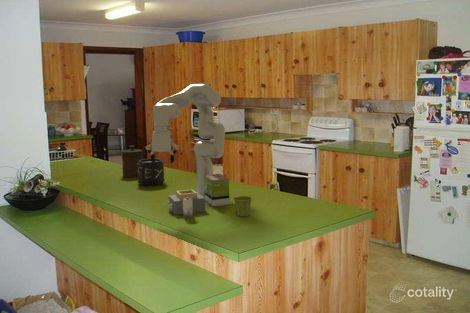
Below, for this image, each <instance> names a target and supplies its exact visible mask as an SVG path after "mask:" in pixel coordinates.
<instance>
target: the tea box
mask: <svg viewBox="0 0 470 313" xmlns="http://www.w3.org/2000/svg"><path fill="white" fill-rule="evenodd" d="M204 191H205V196H204V198H205V202H207V203H208V204H209V205H210V206H212V207H219V206H228V205H230V202H231V201H230V179H229V178H228V177H226V176H224V175H223V174H221V173H215V174H214V173H213V174H212V175H204Z"/></svg>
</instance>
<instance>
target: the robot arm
mask: <svg viewBox="0 0 470 313" xmlns="http://www.w3.org/2000/svg"><path fill="white" fill-rule="evenodd" d="M221 103H222V96H221V94H220V92H219V91H217V89H215V88H214V87H212V86H211V85H209V84H207V83H193V84H189V85H188V86H186V87H185V88H184V89H182V90H181V91H180V92H178V93H176V94H172V95H171V96H170V95H169V96H167V97H165V98H162V99H161V100H160V101H158V102H157V103H156V104H154V105H153V107H152V110H153V111H152V112H153V114H152V115H153V116H152V117H153V131H152V135H151V143H149V144H147V145H146V146H145V147H144V148H145V149H146V151H147V152H148V154H149V155H150V159H151V161H152V163H154V162H155V159H156V155H155V153H156V152H159V153H160V152H162V153H163V152H164V153H165V152H167V153H169V154H170V164H173V163H174V162H175V154H177V152H178V151H179V148H180V146H179V145H178V144H175V143H174V142H173V137H172V136H173V135H172V132H171V131H170V130H172V129H173V127H172V126H170V124H169V123H170V120H169V119H176V118H178V117H179V116H181V114H182V109H184V108H188V107H189V106H191V104H194V106H195V107H196V109H197V111H198V117H199V118H198V129H197V131H198V132H197V134H198V136H199V138H201V139H206V140H200V141H196V143H194V147H193V151H194V156H195V163H196V190H197V191H195V192H198V193H199V194H200V195H202V196H203V197H205V191H204V175H212V174H214V169H213V168H214V166H213V161H212V159H219V158H221V157H223V155H224V152H225V151H224V150H225V138H226V129H225V126H224V124H223V123H220V122H214V118H215V116H214V111H213V109H212V107H218V106H220V104H221ZM150 147H151V149H150ZM174 148H175V149H174ZM173 149H174V150H173Z"/></svg>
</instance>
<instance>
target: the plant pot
mask: <svg viewBox="0 0 470 313" xmlns="http://www.w3.org/2000/svg"><path fill="white" fill-rule="evenodd" d="M252 200H253V197H252V196H248V195H241V196H235V197H233V201H234V203H235V209H236V210H235V211H236V215H237V216H238V217H248V216H250V214H251V213H250V212H251V205H252Z"/></svg>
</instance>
